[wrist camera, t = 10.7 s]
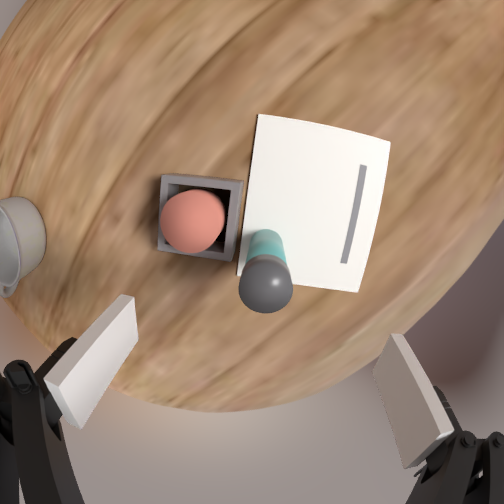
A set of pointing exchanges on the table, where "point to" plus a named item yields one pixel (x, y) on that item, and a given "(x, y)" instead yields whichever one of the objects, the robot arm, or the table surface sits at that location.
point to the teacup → (19, 241)
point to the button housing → (236, 186)
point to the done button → (193, 220)
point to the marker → (265, 274)
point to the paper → (316, 198)
